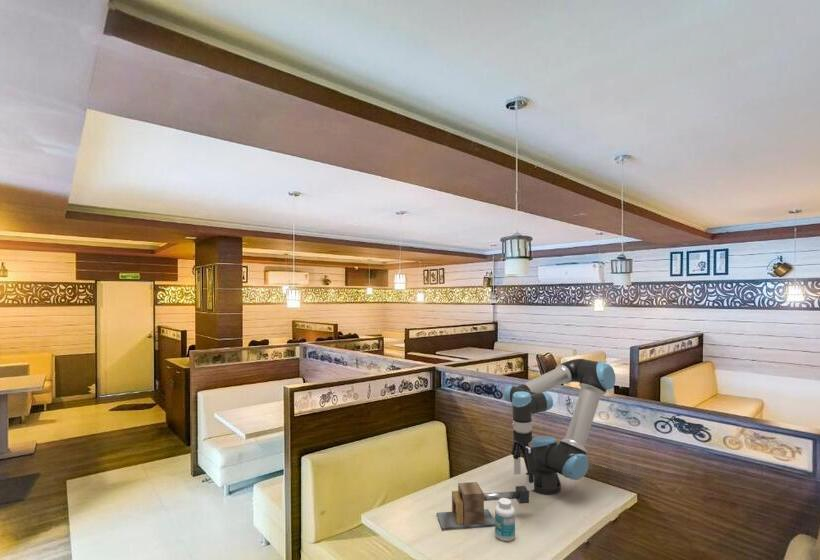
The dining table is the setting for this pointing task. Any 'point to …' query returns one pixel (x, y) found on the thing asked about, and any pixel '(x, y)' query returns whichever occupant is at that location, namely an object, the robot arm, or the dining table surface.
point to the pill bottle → (505, 520)
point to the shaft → (510, 495)
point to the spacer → (457, 507)
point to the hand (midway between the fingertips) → (523, 481)
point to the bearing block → (468, 510)
